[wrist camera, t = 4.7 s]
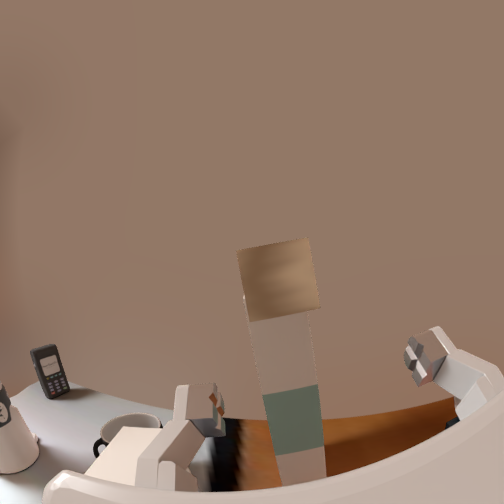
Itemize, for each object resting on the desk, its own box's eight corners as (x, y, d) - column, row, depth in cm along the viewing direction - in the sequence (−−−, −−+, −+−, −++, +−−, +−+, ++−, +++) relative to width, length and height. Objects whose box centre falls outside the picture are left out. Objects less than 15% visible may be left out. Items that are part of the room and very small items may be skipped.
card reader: (50, 400, 49) (32, 351, 50) (44, 397, 51) (28, 349, 51) (72, 390, 58) (56, 344, 59) (66, 388, 59) (51, 343, 60)
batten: (249, 322, 13) (236, 250, 13) (253, 283, 35) (248, 256, 35) (320, 308, 13) (308, 237, 13) (280, 278, 35) (275, 251, 35)
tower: (285, 500, 21) (242, 298, 22) (280, 454, 31) (246, 286, 32) (327, 492, 21) (303, 287, 22) (313, 447, 31) (288, 278, 32)
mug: (181, 457, 32) (161, 408, 32) (186, 492, 24) (160, 441, 24) (113, 463, 29) (89, 416, 29) (107, 497, 20) (73, 446, 20)
